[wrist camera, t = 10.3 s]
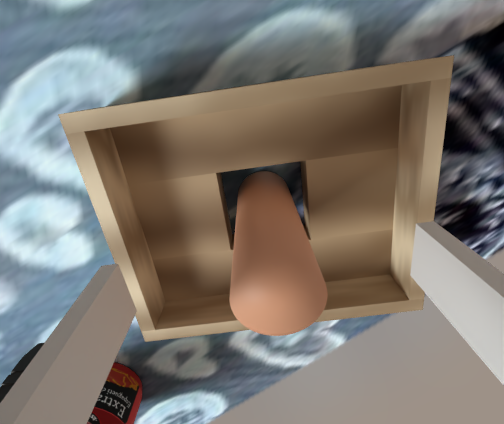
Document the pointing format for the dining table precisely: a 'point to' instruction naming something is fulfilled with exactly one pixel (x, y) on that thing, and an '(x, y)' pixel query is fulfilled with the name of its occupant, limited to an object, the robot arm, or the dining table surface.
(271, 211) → the peg
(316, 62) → the dining table surface
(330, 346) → the dining table surface
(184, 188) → the box
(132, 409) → the canned food
